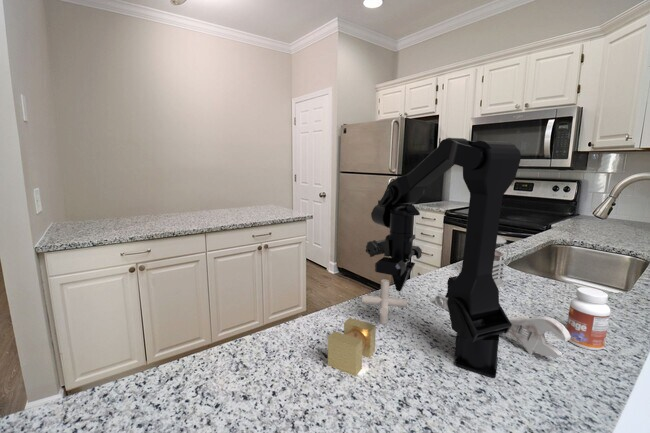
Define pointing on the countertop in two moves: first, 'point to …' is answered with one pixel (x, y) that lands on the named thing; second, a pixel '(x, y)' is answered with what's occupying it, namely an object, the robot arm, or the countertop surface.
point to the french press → (497, 262)
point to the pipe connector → (384, 301)
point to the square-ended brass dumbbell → (351, 346)
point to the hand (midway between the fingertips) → (398, 290)
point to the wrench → (530, 331)
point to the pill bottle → (588, 318)
